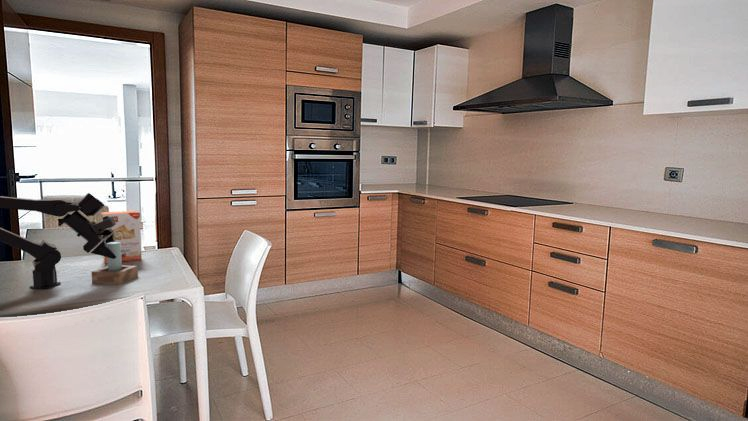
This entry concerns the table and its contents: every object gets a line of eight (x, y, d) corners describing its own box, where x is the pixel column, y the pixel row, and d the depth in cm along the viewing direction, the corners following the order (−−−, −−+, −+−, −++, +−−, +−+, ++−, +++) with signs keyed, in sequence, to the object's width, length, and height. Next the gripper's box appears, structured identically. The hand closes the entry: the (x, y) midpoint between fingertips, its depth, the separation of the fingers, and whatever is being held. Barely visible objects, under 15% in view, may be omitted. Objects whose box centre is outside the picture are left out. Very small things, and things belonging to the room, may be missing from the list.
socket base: (119, 284, 164) (118, 273, 163) (92, 282, 165) (91, 271, 165) (137, 276, 174) (137, 265, 174) (112, 274, 175) (111, 264, 175)
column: (116, 278, 167) (115, 244, 165) (105, 277, 168) (103, 244, 166) (124, 275, 171) (123, 242, 170) (113, 274, 172) (112, 241, 170)
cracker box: (104, 264, 191) (101, 213, 188) (103, 260, 196) (100, 212, 193) (142, 260, 199) (140, 211, 196) (140, 257, 204) (138, 210, 201)
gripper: (91, 213, 156) (129, 244, 161) (106, 206, 174) (139, 234, 179) (66, 237, 155) (105, 267, 160) (83, 227, 173) (118, 255, 177)
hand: (118, 255), depth 169 cm, fingers open, 9 cm apart
